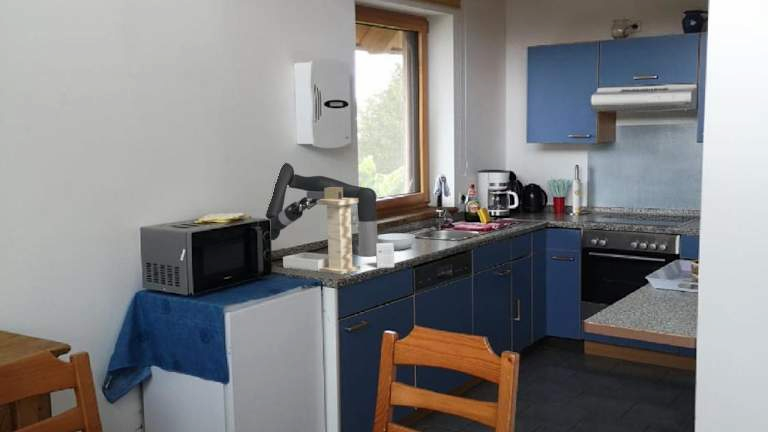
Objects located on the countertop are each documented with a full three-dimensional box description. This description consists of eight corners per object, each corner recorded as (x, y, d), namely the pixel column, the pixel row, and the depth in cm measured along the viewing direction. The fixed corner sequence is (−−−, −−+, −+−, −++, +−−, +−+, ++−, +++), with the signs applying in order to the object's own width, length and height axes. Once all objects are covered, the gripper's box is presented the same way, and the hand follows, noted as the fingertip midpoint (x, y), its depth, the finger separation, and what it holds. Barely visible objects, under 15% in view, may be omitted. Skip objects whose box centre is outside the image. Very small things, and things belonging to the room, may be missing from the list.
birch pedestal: (339, 267, 360) (337, 197, 356) (360, 269, 353) (358, 198, 349) (319, 272, 348) (316, 200, 345) (340, 274, 342) (338, 200, 338)
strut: (311, 197, 357) (311, 186, 356) (343, 198, 350) (342, 187, 349) (305, 198, 351) (304, 187, 351) (336, 199, 344) (336, 188, 344)
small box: (393, 265, 361) (393, 242, 360) (394, 267, 356) (393, 244, 354) (376, 265, 361) (375, 243, 360) (376, 268, 355) (376, 244, 354)
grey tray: (305, 262, 374) (304, 252, 373) (339, 266, 362) (339, 255, 361) (283, 267, 362) (282, 256, 361) (318, 271, 349) (318, 260, 349)
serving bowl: (368, 251, 404) (367, 238, 403) (386, 245, 422) (386, 232, 421) (404, 253, 394) (404, 239, 393) (422, 247, 413) (421, 234, 412)
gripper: (276, 208, 359) (298, 191, 350) (297, 205, 371) (319, 189, 362) (283, 223, 358) (305, 206, 349) (304, 219, 369) (326, 203, 360)
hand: (312, 197), depth 355 cm, fingers open, 8 cm apart
